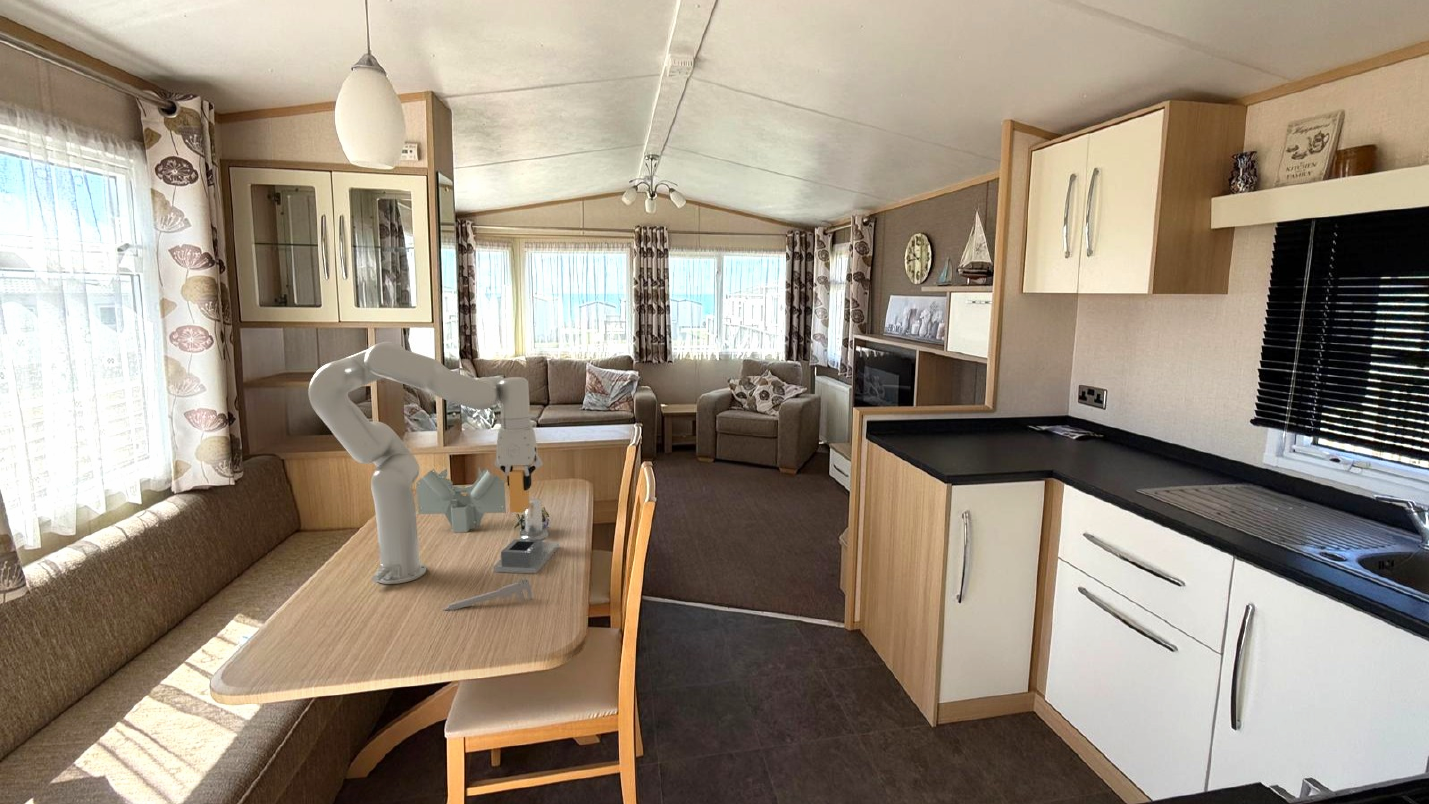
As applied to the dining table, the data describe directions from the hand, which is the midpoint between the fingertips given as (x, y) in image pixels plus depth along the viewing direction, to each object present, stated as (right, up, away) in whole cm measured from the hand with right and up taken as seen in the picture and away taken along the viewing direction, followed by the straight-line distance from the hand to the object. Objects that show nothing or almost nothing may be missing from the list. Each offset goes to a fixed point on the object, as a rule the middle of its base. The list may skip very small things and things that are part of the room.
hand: (519, 488), depth 184 cm
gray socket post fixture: (0, -21, +8) cm, 22 cm away
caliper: (-2, -26, -20) cm, 33 cm away
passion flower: (-4, -18, +27) cm, 33 cm away
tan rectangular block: (0, -6, 0) cm, 6 cm away
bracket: (-28, -17, +32) cm, 46 cm away
